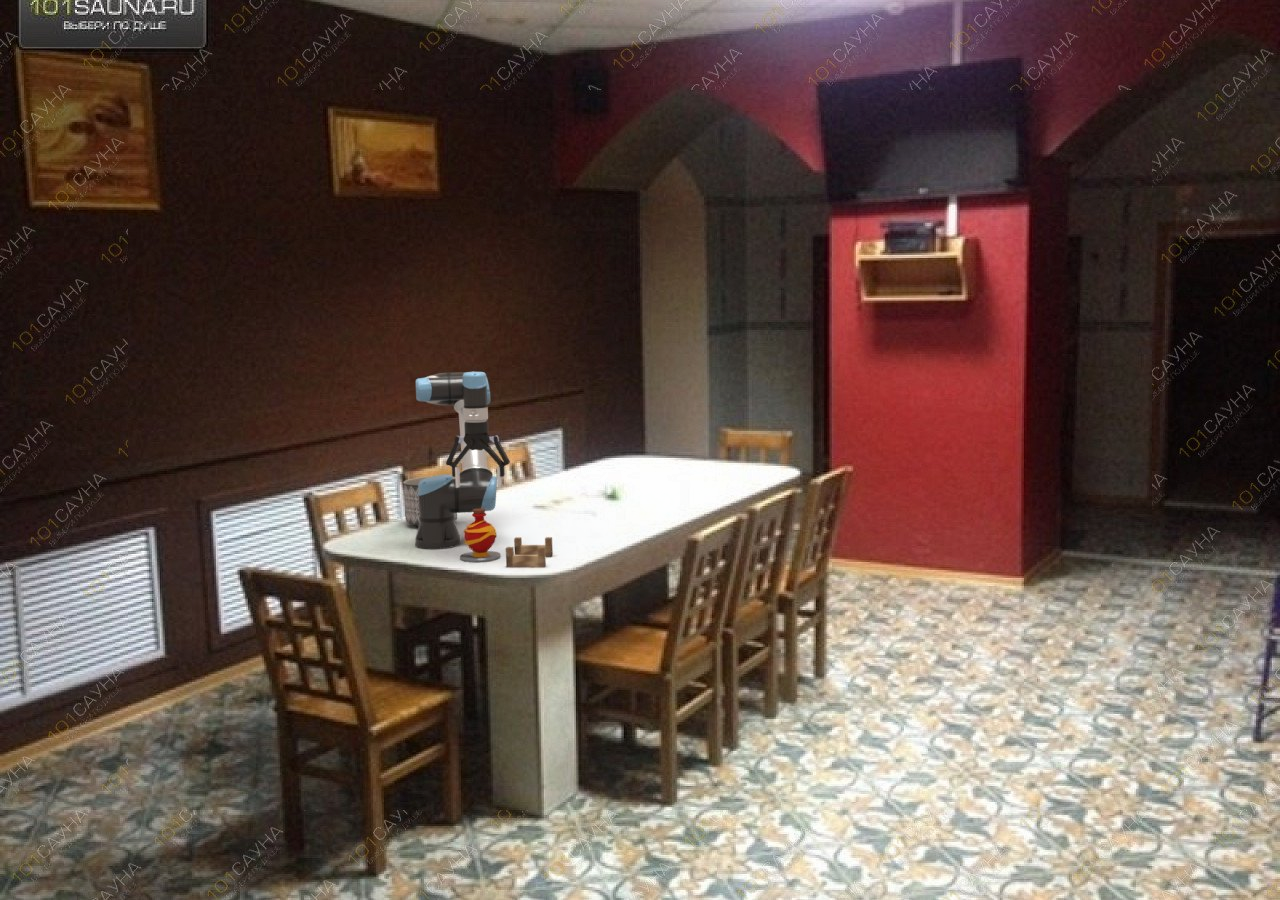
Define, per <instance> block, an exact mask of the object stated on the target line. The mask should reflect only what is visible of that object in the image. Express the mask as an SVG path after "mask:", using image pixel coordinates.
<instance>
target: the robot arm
mask: <svg viewBox="0 0 1280 900" xmlns="http://www.w3.org/2000/svg"><path fill="white" fill-rule="evenodd" d="M415 396H416V400H417V401H418V402H426V403H427V404H433V405H437V406H453V409H454V411H455V412H456V413H458V419H459V420H458V421H459V435H456V436H455V437H454V444H453V446H452V449H451V451H450V453H449V455H448V457H447V459H446V462H445V465H446V466H450V467H451V474H450V473H449V474H439V475H433V476H427V477H428V478H425V479H423V480H421V481H420V482H419V484H418V496H419V518H420V524H419V526H417V527H418V528H417V532H416V534H415V535H416V536H415V539H414V540H415V541H414V542H415V543H414V544H415V547H417V548H419V549H425V550H426V549H427V550H429V549H430V550H438V549H439V550H440V549H448V548H452V547H456V546H459V545H460V544H461V535H460V532H459V530H458V528H457V524H456V521H454V513H457V514H460V513H461V514H463V513H473V509H478V508H482V509H485V512H491V511H493V510H495V508H496V504H497V503H496V501H497V489H498V488H501V487H502V486H503V482H502V481H503V477H505V474H506V473H505V466H508V465H509V464H511V463H510V462H511V461H510V459H509V457H508V455H507V453H506V451H505V450H504V448H503V445H502V444H501V442H500V436H499V435H494V436H490V434H489V433H490V432H489V430H490V429H489V421H488V419H489V409H488V408H489V407H488V405H489V404H490V403H491V391H490V383H489V380H488V377H487V373H485V372H483V371H466V372H461V371H460V372H441V373H440V372H439V373H436V374H431V375H428V376H426V377H421V378H419V377H418V378H417V379H415ZM490 441H491V443H493V444H494V447H495V448H496V450H497V452H498V453H499V455H498V454H497V453H496V452H495V450H494V449H492V447H491V445H489V443H490ZM460 447H461V448H460ZM459 448H460V450H461V452H460V453H459V454H458V456H457V457H456V458H455V456H456V453H457V451H458V449H459ZM487 454H488V455H489V456H490V457H491V459H493V461H494V462H495V463H496V464H497V465H498V466H497V467H496V474H497V476H495V475H494V474H493V472H492V470H491V469H489V468H488V457H487ZM499 456H500V457H499ZM454 458H455V460H454ZM453 460H454V461H453ZM460 462H461V467H462V470H461V471H460V466H459V465H458V464H459V463H460ZM493 475H494V476H493ZM453 478H455V479H453Z"/></svg>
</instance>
